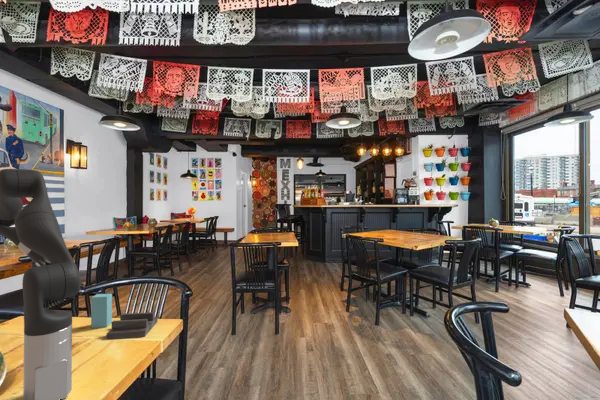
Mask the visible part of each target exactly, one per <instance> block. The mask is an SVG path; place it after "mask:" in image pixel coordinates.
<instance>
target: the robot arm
mask: <svg viewBox="0 0 600 400" xmlns="http://www.w3.org/2000/svg"><path fill="white" fill-rule="evenodd" d="M47 189H48V188H47V184H46V181H45V178H44V175H43V174H42V172H41V171H38V170H35V169H24V168H3V169H0V236H2V237H4V238H6V239H8V240H9V241H11V242H12V243H13V244H14V245H16V246H17V247H18V248H19V249H20V251H21V252H22V253H23V254H24V255H25V256H27V257H28V258H29V259H30V260H31V261H32V262H33V263H34V264H33V266H32V267H28V268H27V269H26V270H25V272H24V274H23V277H22V299H23V383H22V384H23V387H22V388H23V393H22V394H23V399H22V400H59V399H62V400H64V399H67V398H68V397H69V396H68V395H69V394H70V393H71V391H72V389H73V388H72V385H73V384H72V382H73V381H72V380H73V379H72V377H73V376H72V375H73V370H72V369H73V367H72V366H73V365H72V364H73V363H72V362H73V359H72V358H73V356H72V355H73V315H72V313H71V312H70V311H67V310H61V309H48V308H45V307H44V304H46V303H49V302H53V301H54V302H55V301H58V300H62V299H63V300H64V299H68V298H70V297H74V296H76V295H77V294H78V293H79V292H80V289H81V286H82V282H81V281H82V280H81V276H80V275H81V274H80V271H79V269H78V266H77V264H76V262H75V260H74V259H73V257H72V255H71V252H70V251H69V249H68V247H67V245H66V242H65V240H64V237H63V234H62V231H61V227H60V225H59V222H58V218H57V216H56V214H55V211H54V210H53V209H54V208H53V206H52V205H51V202H50V198H49V194H48V190H47ZM21 198H30V199H31V200H30V201H29V203H27V204H26V205H25V206H24V202H23V200H22V199H21ZM12 226H14V227H12ZM66 397H67V398H66Z"/></svg>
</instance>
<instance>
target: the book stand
mask: <svg viewBox="0 0 600 400" xmlns="http://www.w3.org/2000/svg"><path fill="white" fill-rule="evenodd" d="M119 315H120V319H119V320H118V319H117V320H112V323H111V329H110V330H109V331H107V332H106V340H109V339H110V340H111V339H114V340H115V339H126V338H142V337H146V336H147V335H148V333H150V331H151V330H152V329H153V328H154V327H155V325H156V324H157V323H158V317H157V316H155V312H153V311H151V312H150V311H149V312H131V313H129V312H128V313H121V314H119Z"/></svg>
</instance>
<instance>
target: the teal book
mask: <svg viewBox="0 0 600 400" xmlns="http://www.w3.org/2000/svg"><path fill="white" fill-rule="evenodd" d="M90 300H91V301H90V303H91V304H90V310H91V312H90V315H91V316H90V317H91V318H90V319H91V320H90V321H91V322H90V323H91V324H90V325H91V327H90V328H91V329H98V328H102V329H103V328H108V327H109V326H110V325H112V321H113V293H97V294H95V295H93V296H91V299H90Z"/></svg>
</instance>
